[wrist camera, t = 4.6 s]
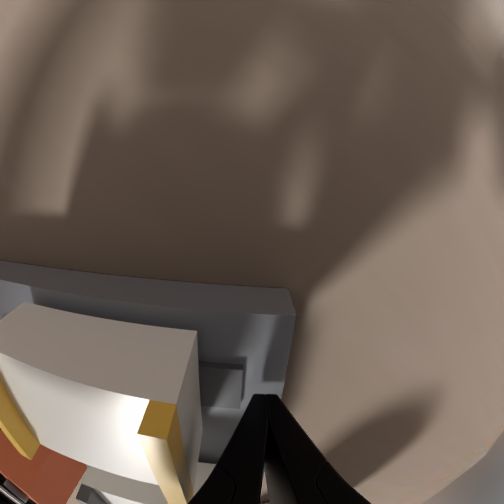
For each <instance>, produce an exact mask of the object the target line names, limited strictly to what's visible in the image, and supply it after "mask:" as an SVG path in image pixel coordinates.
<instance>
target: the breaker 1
mask: <svg viewBox="0 0 504 504" xmlns="http://www.w3.org/2000/svg"><path fill="white" fill-rule="evenodd" d="M0 428H1V429H2V431H3V432H4V434H5V435H6V436H7V438H8V439H9V440H10V441H11V443H12V444H13V445H14V447H15V448H16V449H17V450H18V452H19V453H20V454H21V455H23V456H24V457H26V458H28V459H30V460H32V458H33V456H34V454H35V453H36V451H37V449H38V447H39V446H40V444H41V445H43V446H45V447H47V448H49V449H51V450H54V451H56V452H58V453H60V454H62V455H65V456H67V457H69V458H72V459H74V460H77V461H79V462H82V463H84V464H87V465H90V466H92V467H95V468H98V469H101V470H104V471H107V472H110V473H113V474H117V475H120V476H123V477H127V478H131V479H134V480H138V481H142V482H147V483H151V484H156V485H159V486H160V488H161V490H162V492H163V494H164V496H165V498H166V500H167V502H168V504H187V503H188V502H189V501H190V500H191V499H192V498H193V494H194V487H195V479H196V472H197V465H198V459H199V452H200V445H201V438H202V432H203V427H202V415H201V401H200V385H199V367H198V343H197V331H193V330H184V329H174V328H166V327H158V326H150V325H143V324H135V323H129V322H122V321H116V320H110V319H104V318H98V317H93V316H87V315H82V314H77V313H72V312H67V311H62V310H58V309H53V308H49V307H44V306H40V305H36V304H32V303H28V302H23V303H21V304H20V305H19V306H18V307H16V308H15V309H14V310H12V311H11V312H10V313H8V314H7V315H6V316H5V317H3V318H2V319H1V320H0Z"/></svg>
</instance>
